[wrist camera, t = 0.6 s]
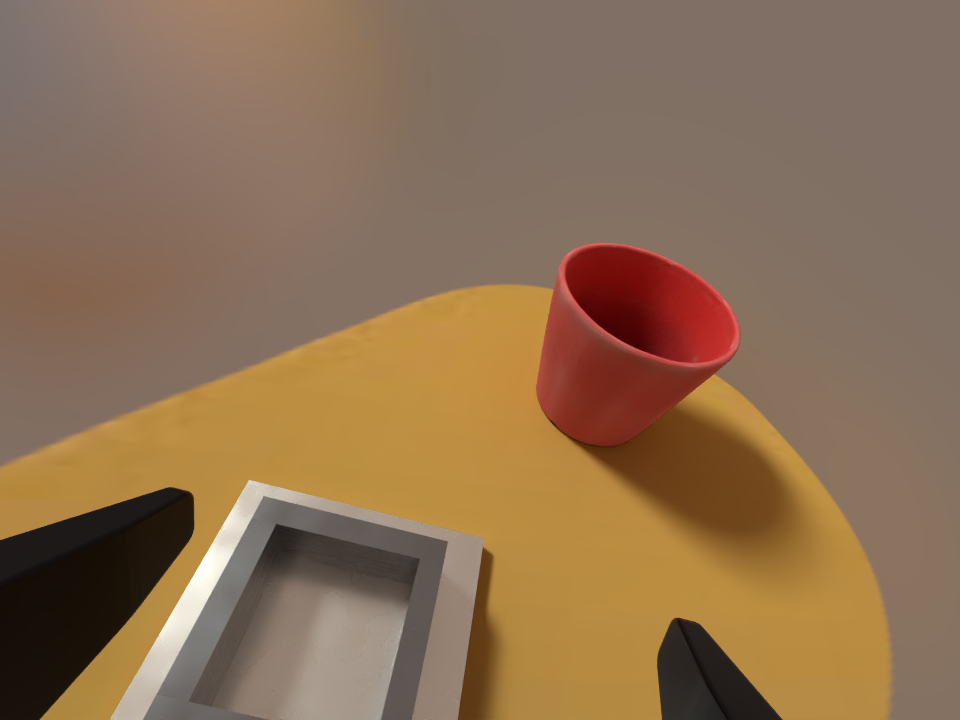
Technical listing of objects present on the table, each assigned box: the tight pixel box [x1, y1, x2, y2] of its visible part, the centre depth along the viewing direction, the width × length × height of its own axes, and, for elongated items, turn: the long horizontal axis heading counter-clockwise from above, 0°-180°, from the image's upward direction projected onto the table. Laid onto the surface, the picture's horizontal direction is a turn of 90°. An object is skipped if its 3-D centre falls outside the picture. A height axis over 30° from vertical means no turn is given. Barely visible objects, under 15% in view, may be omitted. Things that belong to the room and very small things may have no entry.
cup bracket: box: [110, 480, 484, 720], centre depth 18 cm, size 12×12×4 cm
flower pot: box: [536, 243, 740, 447], centre depth 30 cm, size 11×11×10 cm
